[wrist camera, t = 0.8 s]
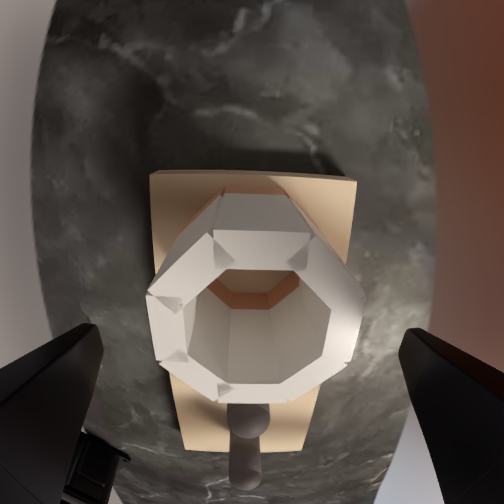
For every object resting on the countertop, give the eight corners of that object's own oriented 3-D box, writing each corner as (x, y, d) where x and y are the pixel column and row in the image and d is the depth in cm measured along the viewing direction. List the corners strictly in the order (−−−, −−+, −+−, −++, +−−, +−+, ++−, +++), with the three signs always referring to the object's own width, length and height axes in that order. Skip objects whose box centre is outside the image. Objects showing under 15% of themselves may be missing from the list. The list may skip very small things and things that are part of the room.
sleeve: (308, 310, 15) (338, 399, 10) (188, 308, 15) (164, 398, 9) (323, 190, 13) (379, 235, 7) (183, 186, 13) (138, 228, 7)
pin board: (298, 436, 22) (309, 503, 16) (187, 435, 21) (178, 502, 15) (346, 176, 14) (412, 210, 8) (158, 170, 14) (100, 199, 8)
